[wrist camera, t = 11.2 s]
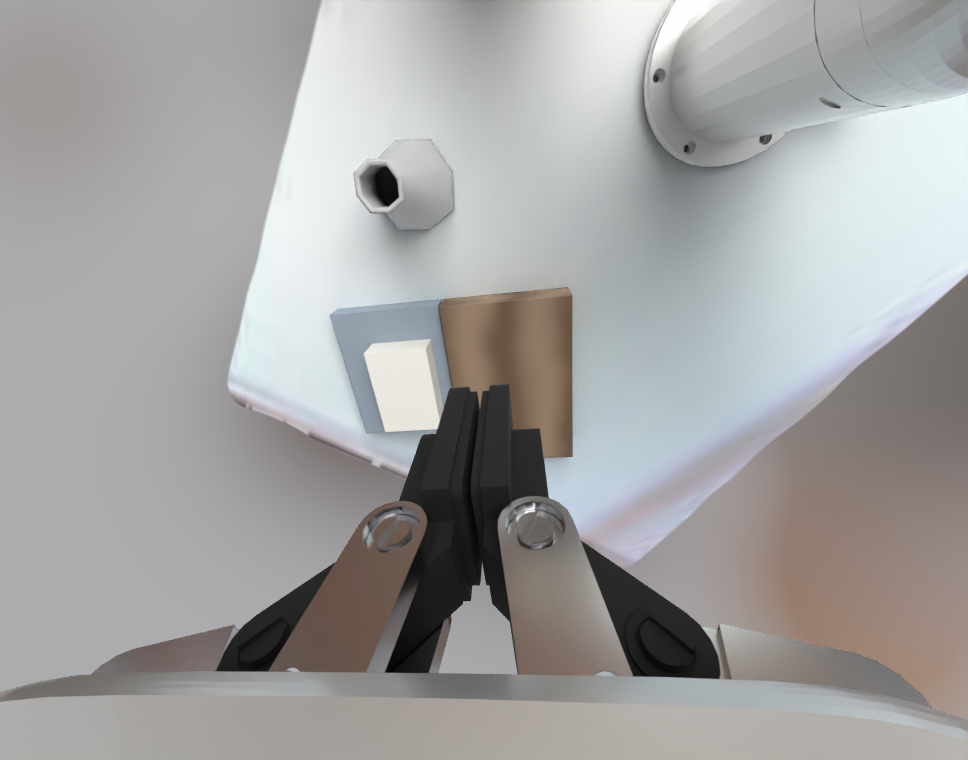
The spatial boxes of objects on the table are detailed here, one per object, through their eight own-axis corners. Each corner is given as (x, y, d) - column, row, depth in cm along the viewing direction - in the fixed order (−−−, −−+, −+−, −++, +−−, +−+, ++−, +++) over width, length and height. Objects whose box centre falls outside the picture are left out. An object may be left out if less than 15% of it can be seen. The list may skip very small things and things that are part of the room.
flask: (395, 242, 34) (355, 261, 26) (358, 157, 31) (299, 145, 23) (467, 215, 33) (452, 225, 24) (437, 122, 30) (406, 96, 21)
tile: (430, 339, 36) (425, 348, 34) (444, 415, 41) (441, 429, 38) (372, 343, 37) (363, 353, 35) (391, 418, 41) (385, 432, 39)
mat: (441, 299, 37) (437, 305, 35) (460, 417, 43) (458, 427, 41) (338, 309, 38) (329, 315, 36) (372, 423, 44) (366, 433, 42)
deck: (567, 287, 35) (572, 295, 33) (568, 440, 44) (572, 456, 41) (444, 299, 37) (438, 307, 34) (467, 445, 45) (465, 461, 42)
